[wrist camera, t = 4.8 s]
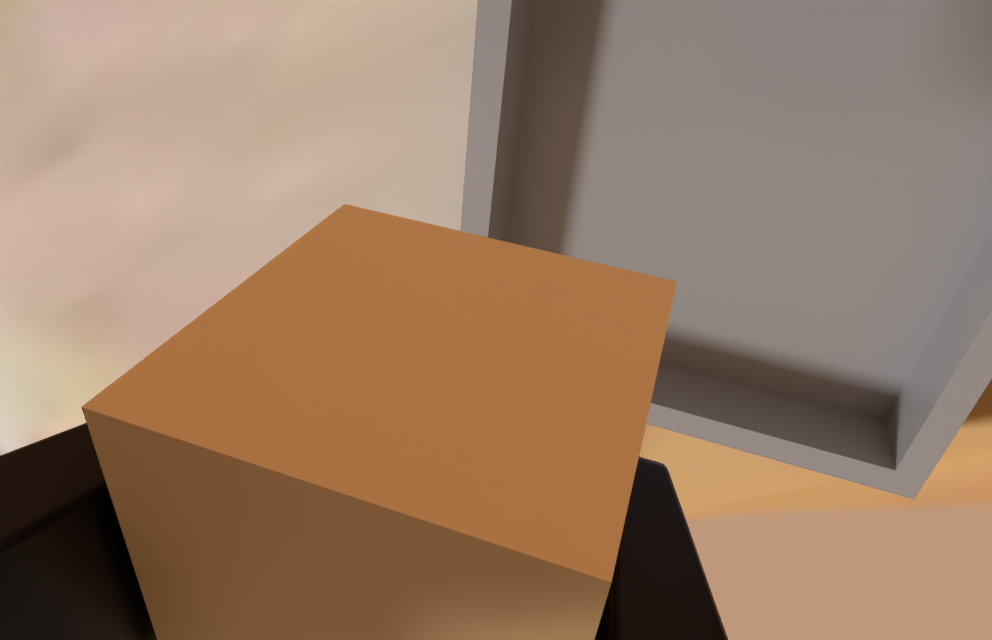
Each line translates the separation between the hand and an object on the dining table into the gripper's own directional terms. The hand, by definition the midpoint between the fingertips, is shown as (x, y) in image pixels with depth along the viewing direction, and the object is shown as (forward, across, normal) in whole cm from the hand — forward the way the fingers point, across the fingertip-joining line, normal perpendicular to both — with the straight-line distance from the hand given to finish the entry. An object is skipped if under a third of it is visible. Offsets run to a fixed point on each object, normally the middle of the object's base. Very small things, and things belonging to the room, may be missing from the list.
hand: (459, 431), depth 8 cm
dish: (+11, -3, 0) cm, 11 cm away
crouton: (+1, 0, 0) cm, 1 cm away
